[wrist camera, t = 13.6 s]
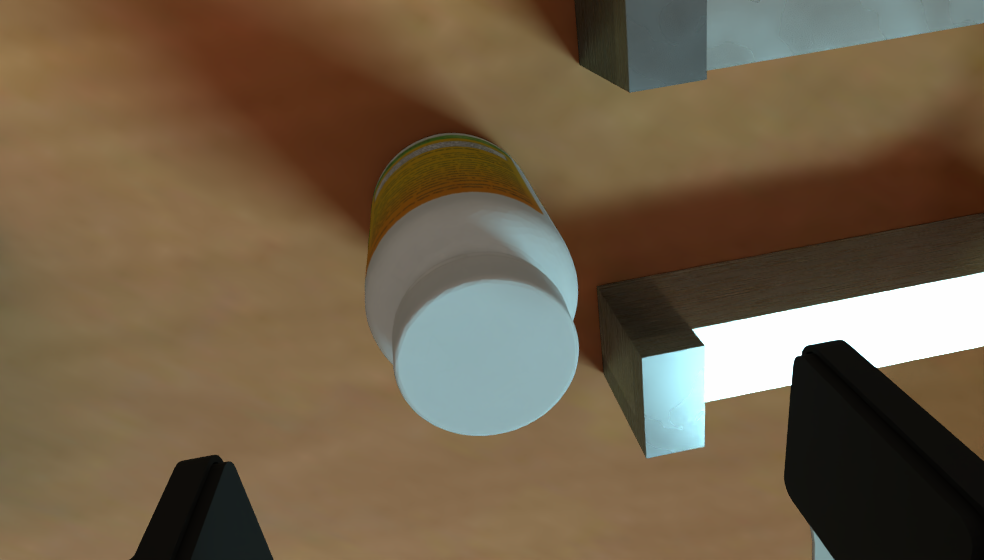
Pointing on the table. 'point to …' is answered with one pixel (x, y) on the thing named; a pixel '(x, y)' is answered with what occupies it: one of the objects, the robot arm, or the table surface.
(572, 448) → the table surface
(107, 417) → the table surface
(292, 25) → the table surface
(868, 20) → the channel bracket
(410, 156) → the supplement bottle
